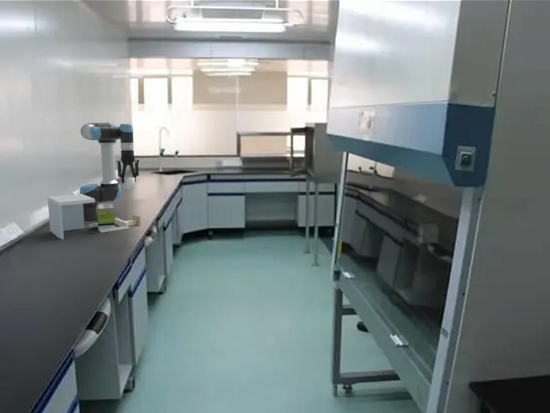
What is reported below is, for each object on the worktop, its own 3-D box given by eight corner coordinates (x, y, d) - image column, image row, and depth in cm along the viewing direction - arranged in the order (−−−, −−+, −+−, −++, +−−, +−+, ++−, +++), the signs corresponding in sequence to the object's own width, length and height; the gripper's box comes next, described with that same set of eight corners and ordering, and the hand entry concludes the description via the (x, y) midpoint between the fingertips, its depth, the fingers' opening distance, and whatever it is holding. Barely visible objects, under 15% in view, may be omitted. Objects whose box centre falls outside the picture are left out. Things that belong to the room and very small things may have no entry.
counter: (50, 232, 307) (47, 196, 303) (83, 227, 319) (81, 193, 315) (61, 239, 288) (59, 202, 285) (96, 234, 301) (94, 198, 297)
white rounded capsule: (124, 189, 307) (124, 177, 306) (132, 188, 311) (132, 177, 309) (128, 190, 303) (128, 178, 302) (136, 189, 307) (136, 177, 305)
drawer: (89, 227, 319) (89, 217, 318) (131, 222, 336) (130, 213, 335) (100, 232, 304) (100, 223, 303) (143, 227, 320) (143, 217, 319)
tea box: (97, 227, 321) (96, 204, 319) (114, 226, 325) (112, 203, 322) (98, 232, 307) (96, 208, 305) (115, 231, 311) (114, 207, 308)
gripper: (115, 150, 296) (117, 190, 301) (143, 149, 307) (145, 187, 311) (110, 149, 302) (112, 188, 306) (138, 148, 313) (140, 186, 317)
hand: (129, 188), depth 309 cm, fingers closed on white rounded capsule, 5 cm apart
